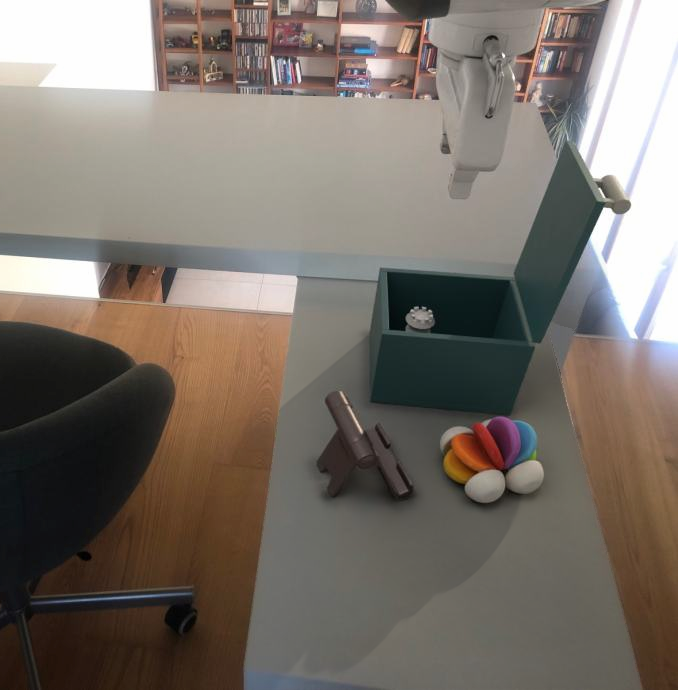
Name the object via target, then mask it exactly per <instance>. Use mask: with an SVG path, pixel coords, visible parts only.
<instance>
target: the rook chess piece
mask: <svg viewBox="0 0 678 690" xmlns="http://www.w3.org/2000/svg"><path fill="white" fill-rule="evenodd" d="M418 309H419V308H418V307H414V310H412V309H411V311H410V313H409V314H407V316H406V321H407V323H408V325H407V326H406V331H408V332H420V333H430V332H431V331H430V328H431V327H432V326H433V325H434V323H435V320H434V318H433V315H432V311H431V310H428V312H427V311H426V307H422V310H418Z"/></svg>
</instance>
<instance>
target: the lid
mask: <svg viewBox="0 0 678 690" xmlns="http://www.w3.org/2000/svg"><path fill="white" fill-rule="evenodd" d="M631 208H632V202H631V201H630V199H629V197H628V195H627V193H626V192H625V190H624V188H623V187H622V185H621V183H620V181H619V180H618V178H617V177H616V176H615V175H613V174H607V175H604V176H602V177H601V178H598V177H593V175H592V173H591V171H590V169H589V168H588V166H587V164H586V162H585V160H584V158H583V156H582V154H581V152H580V150H579V149H578V147H577V144H576V143H575V141H574V140H568V139H567V140H566V139H565V141H564V143H563V147H562V149H561V151H560V153H559V157H558V159H557V162H556V164H555V166H554V169H553V172H552V174H551V176H550V180H549V182H548V185H547V187H546V189H545V192H544V195H543V197H542V199H541V202H540V204H539V207H538V210H537V212H536V215H535V217H534V220H533V223H532V225H531V227H530V230H529V233H528V235H527V238H526V240H525V243H524V246H523V248H522V251H521V253H520V256H519V258H518V261H517V263H516V266H515V269H514V271H513V277H515V280H516V283H517V287H518V291H519V294H520V298H521V301H522V305H523V308H524V312H525V315H526V319H527V322H528V326H529V330H530V333H531V337H532V340H533V343H535V344H542V342H543V339H544V338H545V335H546V334H547V331H548V329H549V327H550V325H551V322H552V320H553V318H554V316H555V314H556V311H557V310H558V307H559V305H560V304H561V301H562V299H563V296H564V294H565V292H566V291H567V288H568V285H569V284H570V282H571V279H572V277H573V275H574V273H575V271H576V269H577V266H578V264H579V262H580V260H581V258H582V256H583V253H584V251H585V250H586V247H587V245H588V242H589V241H590V239H591V235H593V232H594V230H595V227H596V225H597V223H598V221H599V218H600V217H601V214H602V213H603V210H604V209H611V211H612V213H614V214H615V215H624V214H626V213H628V212H629V211H630V209H631Z"/></svg>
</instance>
